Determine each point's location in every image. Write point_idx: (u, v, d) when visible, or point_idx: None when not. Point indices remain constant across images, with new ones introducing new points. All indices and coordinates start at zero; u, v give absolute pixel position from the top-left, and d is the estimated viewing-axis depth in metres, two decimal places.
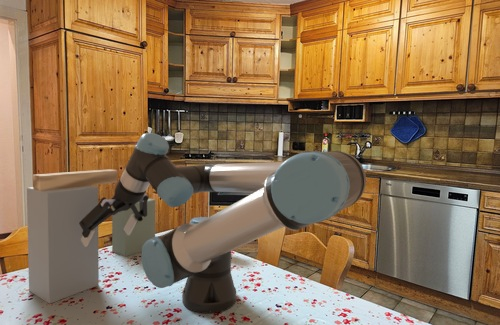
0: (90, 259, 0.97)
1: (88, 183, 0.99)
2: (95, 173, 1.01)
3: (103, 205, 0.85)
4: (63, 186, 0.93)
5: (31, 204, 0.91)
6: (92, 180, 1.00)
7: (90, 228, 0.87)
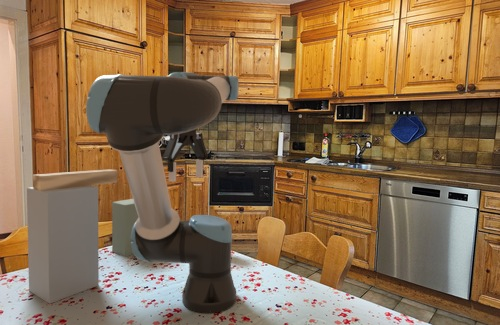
0: (90, 259, 0.97)
1: (88, 183, 0.99)
2: (95, 173, 1.01)
3: (173, 135, 1.09)
4: (63, 186, 0.93)
5: (31, 204, 0.91)
6: (92, 180, 1.00)
7: (172, 159, 1.09)
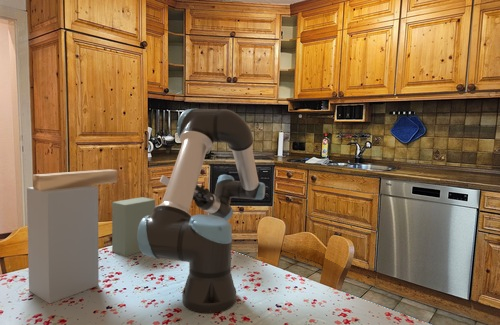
0: (90, 259, 0.97)
1: (88, 183, 0.99)
2: (95, 173, 1.01)
3: None
4: (63, 186, 0.93)
5: (31, 204, 0.91)
6: (92, 180, 1.00)
7: None
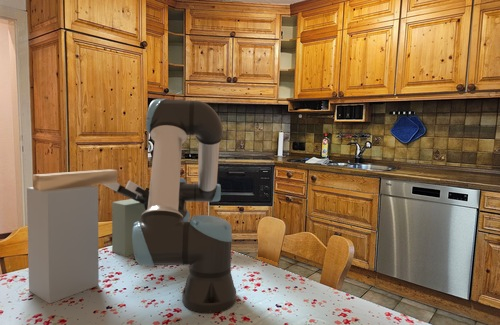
0: (90, 259, 0.97)
1: (88, 183, 0.99)
2: (95, 173, 1.01)
3: None
4: (63, 186, 0.93)
5: (31, 204, 0.91)
6: (92, 180, 1.00)
7: None
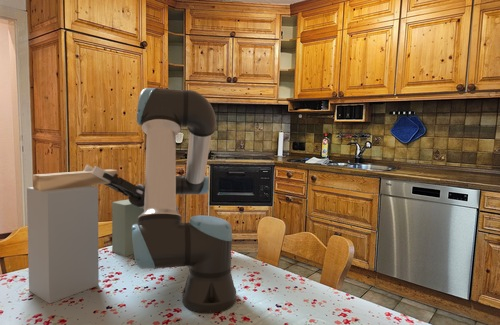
0: (90, 259, 0.97)
1: (88, 183, 0.99)
2: None
3: None
4: (63, 186, 0.93)
5: (31, 204, 0.91)
6: (92, 180, 1.00)
7: None
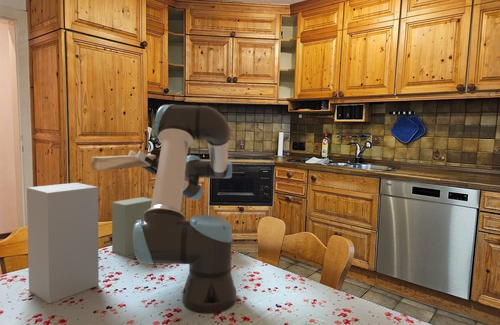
0: (90, 259, 0.97)
1: (133, 165, 1.17)
2: None
3: None
4: (115, 167, 1.11)
5: (31, 204, 0.91)
6: (137, 163, 1.18)
7: None
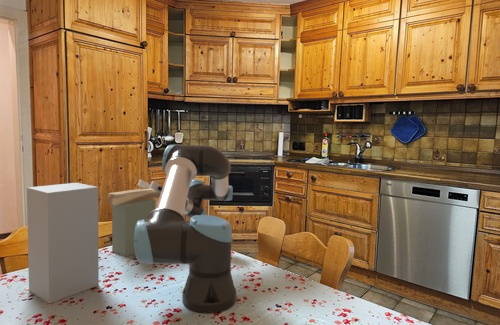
0: (90, 259, 0.97)
1: (144, 198, 1.31)
2: (149, 190, 1.33)
3: None
4: (129, 201, 1.25)
5: (31, 204, 0.91)
6: (147, 196, 1.32)
7: None
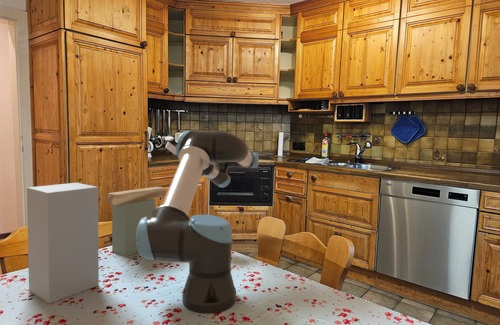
0: (90, 259, 0.97)
1: (144, 198, 1.31)
2: (149, 190, 1.33)
3: None
4: (129, 201, 1.25)
5: (31, 204, 0.91)
6: (147, 196, 1.32)
7: None
